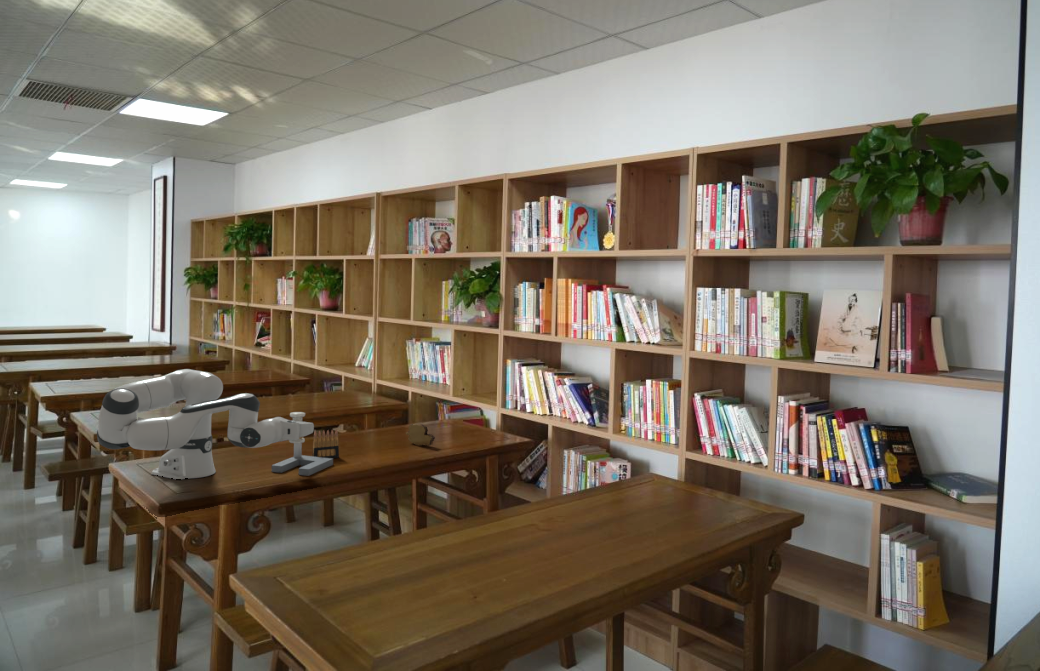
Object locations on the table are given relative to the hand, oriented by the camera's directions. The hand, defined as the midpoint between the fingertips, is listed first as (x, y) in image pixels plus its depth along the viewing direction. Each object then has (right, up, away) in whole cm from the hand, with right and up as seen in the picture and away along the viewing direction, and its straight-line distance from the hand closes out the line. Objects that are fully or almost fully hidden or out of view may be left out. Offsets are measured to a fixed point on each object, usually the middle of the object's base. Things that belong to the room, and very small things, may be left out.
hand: (298, 423), depth 275 cm
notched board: (0, -18, +6) cm, 19 cm away
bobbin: (-1, -7, 0) cm, 7 cm away
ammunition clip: (+4, -18, +22) cm, 29 cm away
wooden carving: (+39, -17, +52) cm, 67 cm away
